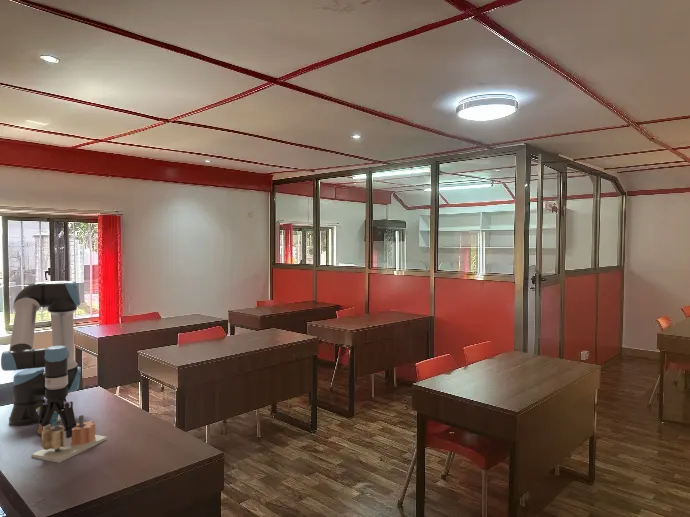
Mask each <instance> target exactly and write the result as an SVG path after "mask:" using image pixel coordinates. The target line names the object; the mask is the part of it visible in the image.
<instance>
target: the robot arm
mask: <svg viewBox="0 0 690 517" xmlns="http://www.w3.org/2000/svg"><path fill="white" fill-rule="evenodd" d="M79 306H81V298H80V291H79V286H78V283H77V282H76V281H69V280H59V281H58V280H55V281H53V280H52V281H37V282H32V283H30V284H29V285H27V286H25V287H24V288H23V289H21V291H20V292H19V293H17V295H16V296H15V299H14V301H13V310H14V318H13V325H12V329H11V330H12V331H11V332H12V333H11V338H10V344H9V350H7V351H3V352H2V353H1V355H0V356H1V357H0V360H1V361H0V367H1V369H2V371H5V372H8V371H9V372H10V371H19V372H17V373H16V374H15V375H13V383H12V386H13V388H12V389H13V407H12V409H11V411H10V412H11V413H10V416H9V417H8V424H9V425H10V426H13V427H25V426H30V425H34V424H35V425H36V424H38V425H40V424H41V426H42V431H44V430H45V428H48V427H51V424H49V423H51V422H50V420H51V418H52V415H53V413H54V411H56V412H57V414H59V415H58V416H59V418H60V420H61V423H62V425H64V428H65V429H64V430H63V447H67V446H69V445H71V437H72V428H74V427H76V426H77V425H76V424H77V421H76V417H75V412H74V407H73V406H74V402H73V401H71V400H70V401H67V399H66V398H67V397H68V395H69V393H75V392H77V391H78V390H79V386H80V381H81V380H80V379H81V372H82V367H81V366H78V362H76V361H75V356H74V355H75V347H74V346H75V344H74V343H75V342H74V313H75V312H76V311H77V309H78V307H79ZM40 308H47V312H49V313H50V314H51V335H52V336H51V338H52V339H51V341H52V344H51V345H52V346H49V347H43V348H42V347H41V348H33V347H34V337H35V330H36V329H35V326H36V322H37V321H36V320H37V312H38V311H39V310H40ZM39 407H41V408H40V413H39V416H38V414H37V412H36V409H37V408H39ZM61 410H62V411H61Z"/></svg>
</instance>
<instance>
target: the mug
mask: <svg viewBox="0 0 690 517" xmlns="http://www.w3.org/2000/svg"><path fill="white" fill-rule="evenodd" d="M40 408H41V407H39V408H37V409H36V412H37V414H38V416H39V413H40ZM61 411H62V410H61ZM59 416H60V415H59V414H57V412H56V411H54V413H53V415H52V418H51V420H50V422H51V423H49V424H51V427H54V426H55V425H60V424H61V422H62V420H61V419H59ZM38 427H39V428H38V430H37V434H38V435H42V426H41V424H38Z"/></svg>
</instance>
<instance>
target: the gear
mask: <svg viewBox="0 0 690 517" xmlns="http://www.w3.org/2000/svg"><path fill="white" fill-rule="evenodd" d="M64 429H65V428H64V425H63V424H62V425H61V424H59V430H58V431H55V427H48V428H45V430H44V431H42V434H41V448H42V449H44V450H48V449H58V448H60V447H63V430H64ZM71 442H72V437H71Z"/></svg>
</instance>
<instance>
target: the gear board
mask: <svg viewBox="0 0 690 517" xmlns="http://www.w3.org/2000/svg"><path fill="white" fill-rule="evenodd" d="M84 418H85V417H84V415H83V414H82V415H78V423H77V422H76V425H77V426H76V427H74V428H72V442H71V445H69V446H67V447H60V448H58V449H48V450H44V449H43V448H42V449H40V450H38V451H35V452H33V453H32V454H31V458H33V459H39V460H43V461H44V460H45V461H47V462H53V463H58V464H60V463H61V462H62V463H63V462H64V461H66V460H68V459H70V458H72V457H74V456H76V455H78V454H80V453H83V452H84V451H87V450H88V449H90V448H92V447H94V446H96V445H98V444H100V443H102V442H105V441H107V438H108V437H107V436H106V435H105V436H104V435H99V434H96V423H95V422H94V421H92V420H89V421H84V420H85V419H84ZM59 425H60V424H59ZM59 425H55V426H54V427H55V431H58V430H59Z"/></svg>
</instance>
